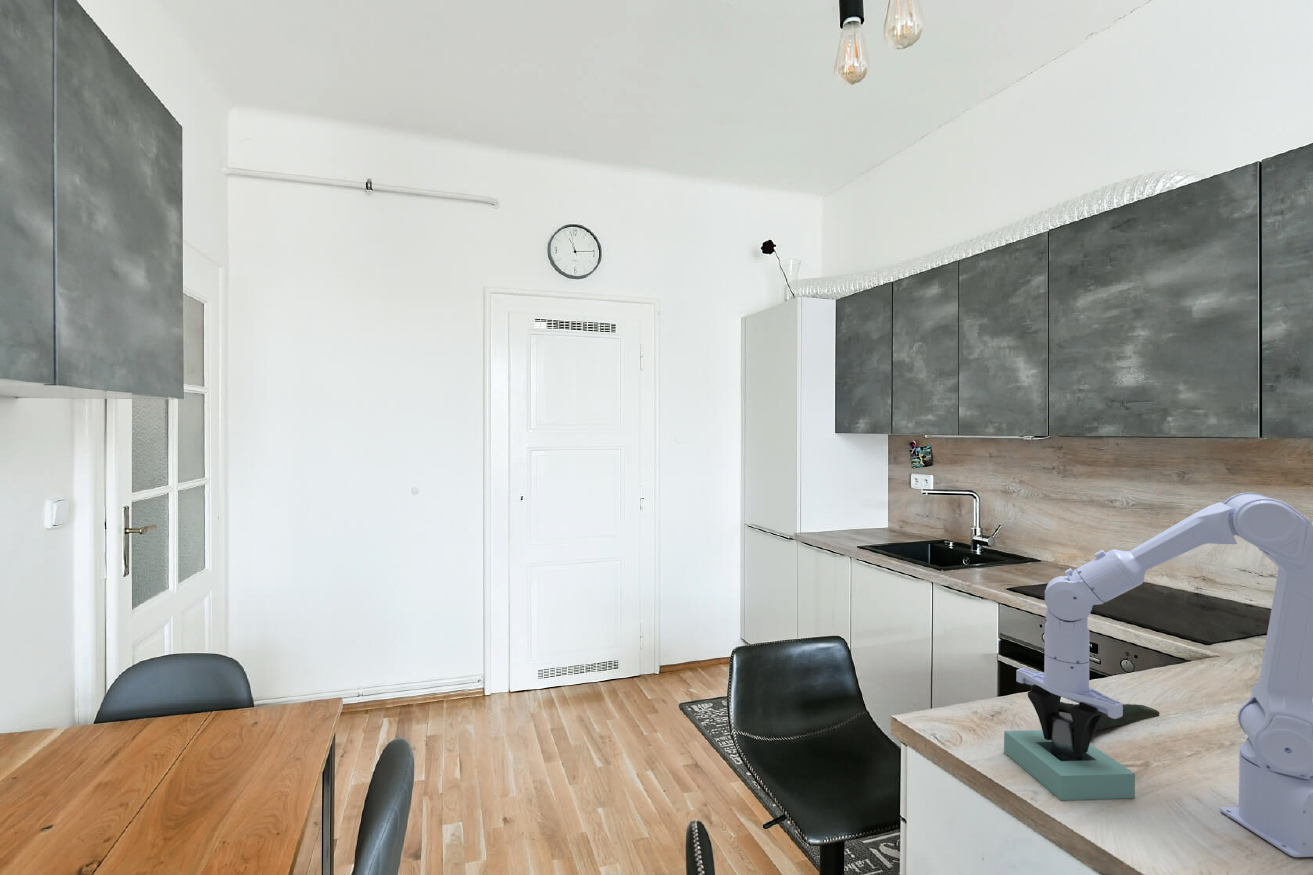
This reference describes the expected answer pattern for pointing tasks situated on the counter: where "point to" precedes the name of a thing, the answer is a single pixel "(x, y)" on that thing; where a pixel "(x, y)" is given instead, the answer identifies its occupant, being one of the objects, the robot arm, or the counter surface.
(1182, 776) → the counter surface
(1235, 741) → the counter surface
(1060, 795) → the hole block
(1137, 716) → the tool
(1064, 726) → the pin
